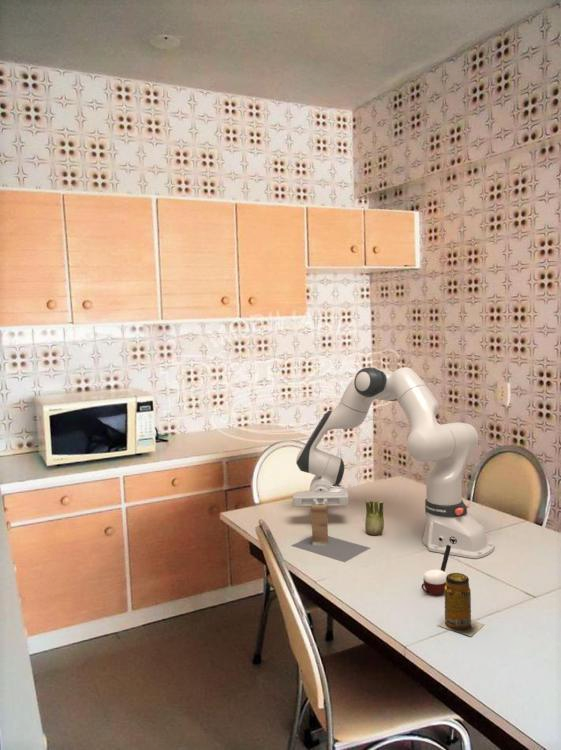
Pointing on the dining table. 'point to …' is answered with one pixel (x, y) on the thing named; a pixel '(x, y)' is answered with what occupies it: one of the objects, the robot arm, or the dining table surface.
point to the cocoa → (436, 577)
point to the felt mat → (333, 548)
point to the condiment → (459, 605)
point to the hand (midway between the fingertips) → (320, 505)
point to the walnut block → (319, 525)
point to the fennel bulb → (374, 518)
